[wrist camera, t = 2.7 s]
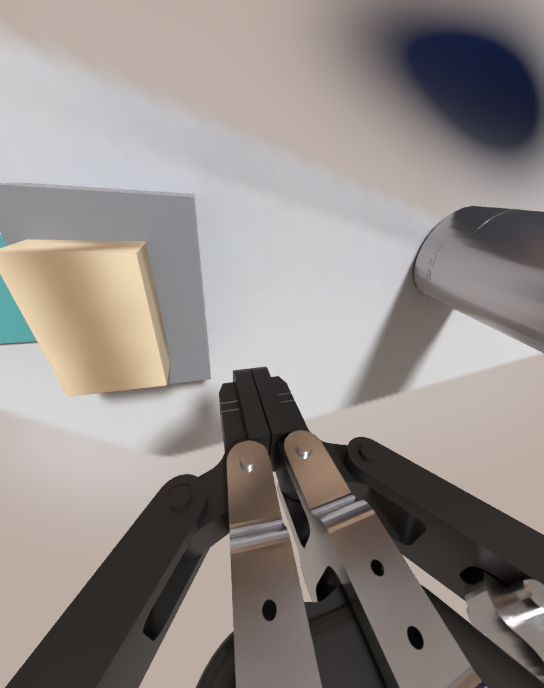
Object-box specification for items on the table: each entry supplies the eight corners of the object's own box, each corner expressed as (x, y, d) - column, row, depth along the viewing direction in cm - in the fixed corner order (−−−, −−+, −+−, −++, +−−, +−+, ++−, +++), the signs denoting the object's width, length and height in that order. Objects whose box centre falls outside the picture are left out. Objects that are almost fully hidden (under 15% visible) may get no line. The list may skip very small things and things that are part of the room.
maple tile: (146, 241, 15) (136, 253, 12) (170, 360, 20) (166, 385, 17) (26, 239, 13) (-12, 252, 11) (85, 368, 18) (67, 396, 16)
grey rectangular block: (194, 194, 17) (193, 197, 14) (208, 353, 25) (210, 379, 22) (23, 183, 15) (-25, 183, 12) (98, 363, 22) (81, 394, 19)
